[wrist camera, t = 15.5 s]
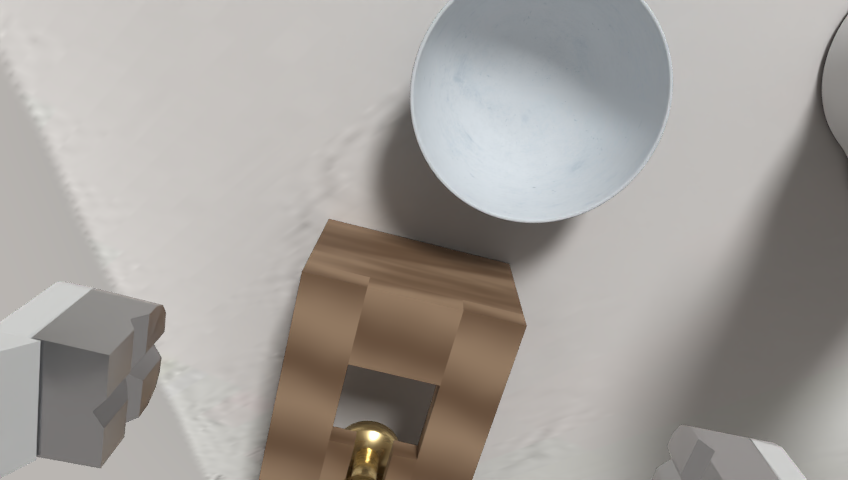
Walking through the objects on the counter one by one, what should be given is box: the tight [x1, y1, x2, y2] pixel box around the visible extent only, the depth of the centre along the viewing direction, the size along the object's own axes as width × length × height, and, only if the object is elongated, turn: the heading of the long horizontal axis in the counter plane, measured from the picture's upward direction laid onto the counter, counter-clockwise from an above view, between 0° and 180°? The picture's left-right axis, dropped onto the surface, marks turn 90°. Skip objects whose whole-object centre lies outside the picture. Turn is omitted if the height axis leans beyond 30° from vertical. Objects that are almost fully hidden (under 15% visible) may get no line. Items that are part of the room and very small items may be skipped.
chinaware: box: [410, 0, 673, 223], centre depth 40 cm, size 15×15×8 cm
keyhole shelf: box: [259, 219, 526, 480], centre depth 47 cm, size 24×14×10 cm, turn 166°
